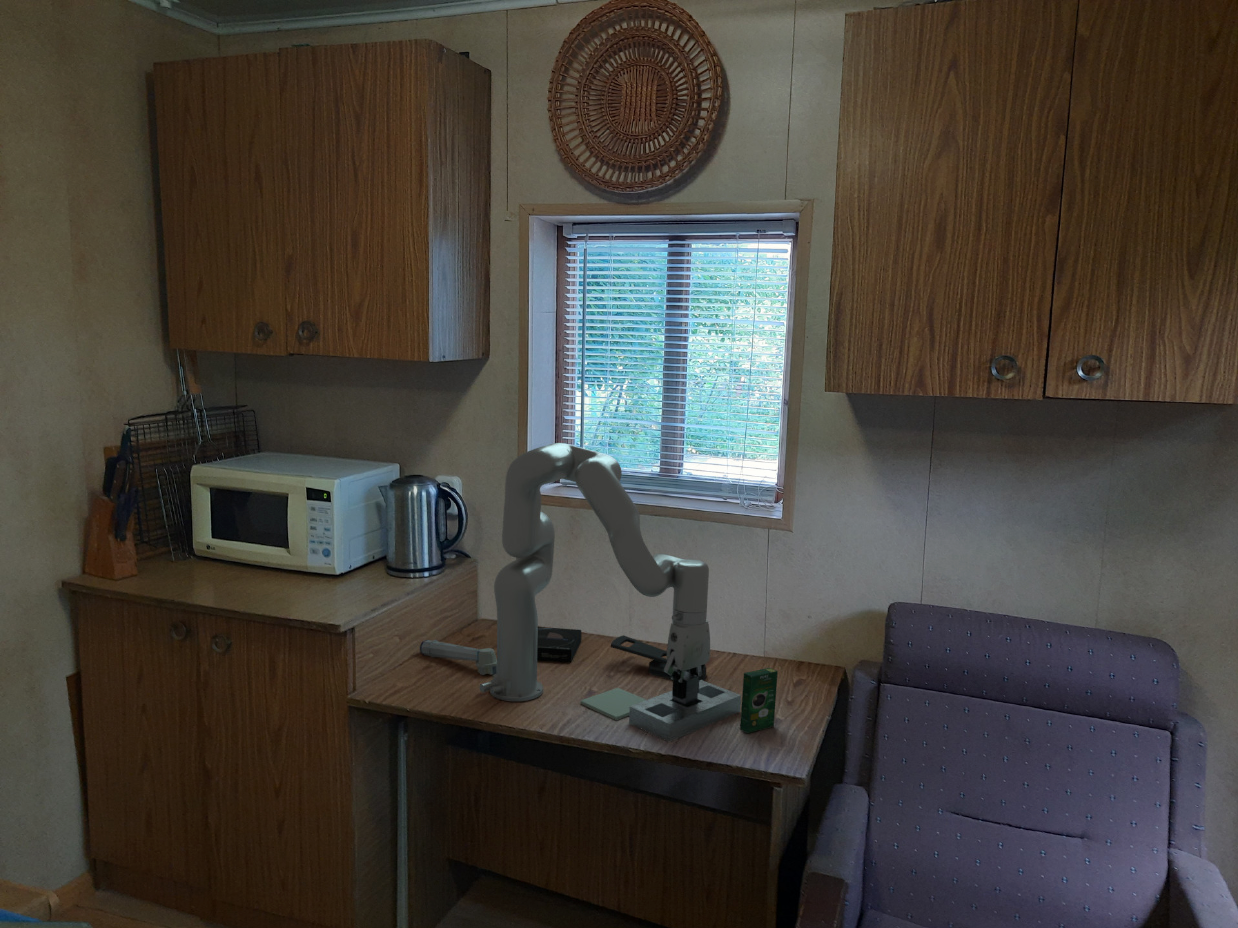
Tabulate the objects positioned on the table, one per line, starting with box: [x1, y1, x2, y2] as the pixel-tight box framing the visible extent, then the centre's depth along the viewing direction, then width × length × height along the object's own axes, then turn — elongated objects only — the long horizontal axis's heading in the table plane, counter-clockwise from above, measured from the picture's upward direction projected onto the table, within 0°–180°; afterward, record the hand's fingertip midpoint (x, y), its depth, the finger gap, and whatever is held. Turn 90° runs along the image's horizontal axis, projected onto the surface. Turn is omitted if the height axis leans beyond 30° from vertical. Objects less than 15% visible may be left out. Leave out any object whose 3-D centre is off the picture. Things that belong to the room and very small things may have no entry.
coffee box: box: [739, 667, 779, 734], centre depth 200 cm, size 8×3×13 cm, turn 123°
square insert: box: [672, 671, 699, 707], centre depth 205 cm, size 4×4×9 cm
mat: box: [580, 687, 647, 721], centre depth 211 cm, size 12×12×1 cm
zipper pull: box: [610, 634, 707, 681], centre depth 233 cm, size 9×7×25 cm
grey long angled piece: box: [419, 639, 497, 676], centre depth 234 cm, size 5×7×25 cm
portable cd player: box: [537, 626, 582, 664], centre depth 246 cm, size 16×17×4 cm
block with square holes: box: [628, 680, 742, 742], centre depth 205 cm, size 24×12×4 cm, turn 134°
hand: (685, 693), depth 205 cm, fingers closed on square insert, 4 cm apart
